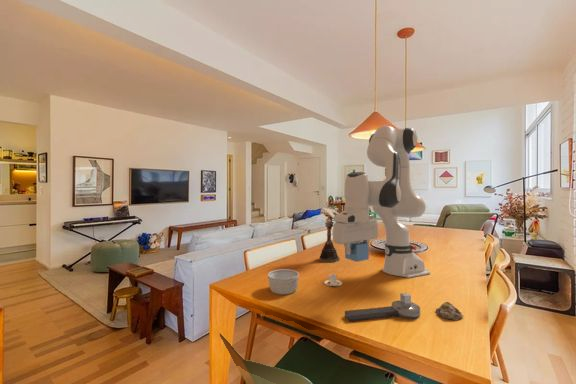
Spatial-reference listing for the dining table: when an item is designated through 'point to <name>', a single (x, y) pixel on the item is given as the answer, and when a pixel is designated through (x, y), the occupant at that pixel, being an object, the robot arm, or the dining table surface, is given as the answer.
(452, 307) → the mineral rock
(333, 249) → the bird statue
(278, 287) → the ramekin
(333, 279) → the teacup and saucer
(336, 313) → the dining table surface
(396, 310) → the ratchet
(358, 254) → the slate grey cube
